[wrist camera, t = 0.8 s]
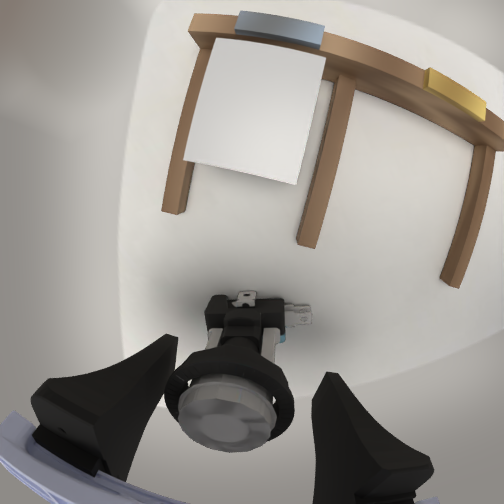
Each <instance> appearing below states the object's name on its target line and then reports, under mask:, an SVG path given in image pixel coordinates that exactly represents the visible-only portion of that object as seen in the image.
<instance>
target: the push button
mask: <svg viewBox="0 0 504 504" xmlns="http://www.w3.org/2000/svg"><path fill="white" fill-rule="evenodd" d="M246 294H250V296H243V295H246ZM255 297H256V292H255V291H242V292H239V295H238V298H237V300H227V296H226V295H214V296H212V298H211V300H210V302H209V304H208V306H207V308H206V310H205V311H204V313H205V319H206V325H207V331H208V343H207V346H206V348H205V350H202V351H198V352H194V353H192V354H191V355H190V356H189V357H188V358H187V359H186V360H185V361H184V363H183V364H182V365H180V366H179V367H178V368H177V369H176V370H175V371H174V372H173V373H172V374H171V376H170V377H169V379H168V381H167V384H166V386H165V390H164V399H165V403H166V406H167V408H168V410H169V412H170V413H171V415H172V416H173V417H174V419H175V420H176V421H177V422H178V423H179V425H180V426H181V428H182V430H183V431H184V432H185V433H186V434H187V435H188V436H189V438H191V439H192V440H193V441H195V442H197V443H199V444H201V445H203V446H205V447H207V448H210V449H214V450H218V451H224V452H229V453H230V452H247V451H251V450H253V449H255V448H258V447H260V446H262V445H263V444H265V443H266V442H267V441H270V440H272V439H274V438H276V437H278V436H279V435H281V434H282V433H283V432H284V431H285V430H286V429H287V428H288V427H289V426H290V424H291V422H292V420H293V417H294V411H295V410H294V398H293V395H292V392H291V391H290V389H289V387H288V382H287V380H286V377H285V375H284V373H283V371H282V369H281V368H280V367H279V366H277V365H275V364H274V361H275V344H278V343H283V342H284V341H285V327H294V325H302V324H311V323H312V313H311V307H310V306H294V304H292V305H284V299H255ZM301 309H304V310H306V313H300V310H301ZM301 317H307V320H306V321H301ZM191 379H192V381H191V384H190V386H188V381H189V380H191ZM273 396H274V398H275V399H276V402H275V403H274V404H273Z"/></svg>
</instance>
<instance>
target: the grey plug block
mask: <svg viewBox="0 0 504 504" xmlns="http://www.w3.org/2000/svg"><path fill="white" fill-rule="evenodd" d="M325 61H326V58H325V57H322V56H318V55H314V54H310V53H306V52H302V51H298V50H294V49H289V48H284V47H279V46H274V45H269V44H263V43H256V42H250V41H242V40H234V39H225V38H216V40H215V43H214V46H213V49H212V52H211V55H210V59H209V62H208V65H207V68H206V72H205V75H204V79H203V82H202V86H201V89H200V93H199V96H198V100H197V104H196V108H195V112H194V115H193V119H192V123H191V128H190V132H189V136H188V140H187V145H186V149H185V154H184V158H183V160H185V161H190V162H196V163H201V164H206V165H211V166H216V167H221V168H226V169H230V170H235V171H239V172H244V173H248V174H253V175H257V176H261V177H265V178H269V179H273V180H277V181H281V182H285V183H289V184H293V185H296V183H297V179H298V176H299V172H300V168H301V164H302V159H303V155H304V151H305V147H306V143H307V139H308V135H309V131H310V126H311V122H312V118H313V114H314V109H315V105H316V101H317V96H318V92H319V88H320V83H321V79H322V74H323V70H324V65H325Z"/></svg>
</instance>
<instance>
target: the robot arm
mask: <svg viewBox="0 0 504 504" xmlns="http://www.w3.org/2000/svg"><path fill="white" fill-rule="evenodd" d="M177 345H178V337H175V336H172V335H169V334H165V335H163V336H162V337H160V338H159V339H158V340H156V341H155V342H153V343H152V344H150V345H149V346H147V347H146V348H144V349H143V350H141V351H139V352H138V353H136V354H134V355H133V356H131V357H129V358H127V359H125V360H123V361H121V362H119V363H117V364H115V365H112V366H110V367H107V368H105V369H102V370H98V371H95V372H91V373H88V374H83V375H78V376H72V377H63V378H49V379H48V380H46V381H45V382H44V383H43V384H42V385H41V386H40V387H39V389H38V390H37V391H36V392H35V393H34V394H33V396H32V397H31V404H32V407H33V410H34V412H35V414H36V416H37V418H38V420H39V422H40V425H39V426H38V428H37V429H36V427H35V426H34V425H33V424H32V423H31V422H29V421H28V420H27V419H25V418H24V417H23V416H21V415H20V414H19V413H18V412H16V411H14V410H13V411H12V412H11V413H10V414H9V415H8V416H7V417H6V419H5V420H4V421H3V422H2V423H1V424H0V462H1V463H2V465H3V466H4V467H5V468H6V469H7V470H8V471H9V472H10V473H11V474H13V475H14V476H15V477H16V478H18V479H19V480H20V481H21V482H22V483H24V484H25V485H26V486H28V487H29V488H30V489H31V490H33V491H34V492H36V493H37V494H38V495H40V496H41V497H42V498H44V499H45V500H47V501H48V502H50V503H51V504H188V503H185V502H181V501H178V500H174V499H171V498H168V497H164V496H161V495H158V494H155V493H152V492H150V491H147V490H144V489H141V488H139V487H136V486H134V485H131V484H129V483H126V480H127V476H128V473H129V470H130V467H131V464H132V461H133V458H134V456H135V453H136V450H137V448H138V445H139V442H140V440H141V437H142V435H143V432H144V430H145V427H146V425H147V423H148V421H149V419H150V417H151V415H152V413H153V411H154V410H155V408H156V406H157V404H158V403H159V401H160V399H161V397H162V396H163V394H164V390H165V386H166V384H167V381H168V379H169V377H170V376H171V374H172V373H173V372H174V370H175V363H176V354H177ZM311 416H312V427H313V436H314V443H315V453H316V472H315V488H314V496H313V504H440V503H439V500H438V497H432V498H428V499H424V500H421V501H418V502H416V503H414V501H413V498H415V497H416V493H415V490H416V489H418V488H419V487H420V486H421V485H423V484H424V483H425V482H426V481H427V480H428V479H429V478H431V476H432V475H433V473H434V468H433V465H432V463H431V460H430V457H429V456H427V455H425V454H423V453H421V452H419V451H417V450H414V449H413V448H411V447H409V446H408V445H406V444H405V443H403V442H401V441H400V440H399V439H397V438H396V437H394V436H393V435H392V434H391V433H389V432H388V431H387V430H386V429H384V428H383V427H382V426H381V425H380V424H379V423H378V422H377V421H376V420H375V419H374V418H373V417H372V416H371V415H370V414H369V413H368V412H367V411H366V409H365V408H364V407H363V406H362V404H361V403H360V402H359V401H358V399H357V398H356V397H355V396H354V394H353V393H352V392H351V390H350V389H349V387H348V386H347V385H346V383H345V382H344V381H343V379H342V378H341V376H340V375H339V374H338V373H332V372H326V374H325V376H324V378H323V380H322V382H321V384H320V385H319V387H318V389H317V391H316V393H315V395H314V397H313V399H312V415H311Z"/></svg>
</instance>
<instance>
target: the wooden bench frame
mask: <svg viewBox="0 0 504 504" xmlns="http://www.w3.org/2000/svg"><path fill="white" fill-rule="evenodd" d="M324 28H325V26H323V25H319V24H315V23H311V22H307V21H302V20H298V19H293V18H288V17H283V16H277V15H271V14H264V13H257V12H249V11H240V13H239V16H234V15H221V14H194V16H193V19H192V21H191V24H190V26H189V29H188V32H189V33H190V35H191V36H192V38H193V39H194V40H195V42H196V43H197V45H198V46H199V48H200V51H199V54H198V57H197V60H196V64H195V67H194V70H193V73H192V77H191V80H190V84H189V87H188V91H187V94H186V98H185V102H184V105H183V109H182V113H181V117H180V121H179V125H178V129H177V134H176V138H175V142H174V147H173V151H172V156H171V161H170V166H169V171H168V176H167V181H166V187H165V192H164V198H163V204H162V210H161V211H162V212H167V213H171V214H175V215H178V214H180V213H182V212H184V211H185V209H186V204H187V198H188V193H189V188H190V183H191V178H192V173H193V169H194V164H195V162H190V161H185V160H183V158H184V154H185V149H186V145H187V140H188V136H189V132H190V128H191V123H192V119H193V115H194V112H195V108H196V104H197V100H198V96H199V93H200V89H201V86H202V82H203V79H204V75H205V72H206V68H207V65H208V62H209V59H210V55H211V52H212V49H213V46H214V43H215V40H216V38H225V39H234V40H242V41H250V42H256V43H263V44H269V45H274V46H279V47H284V48H289V49H294V50H298V51H302V52H306V53H310V54H314V55H318V56H322V57H325V58H326V61H325V65H324V70H323V74H322V79H325V80H328V81H331V82H335V83H334V87H333V92H332V97H331V101H330V106H329V110H328V115H327V119H326V123H325V128H324V132H323V136H322V140H321V145H320V149H319V153H318V157H317V161H316V165H315V169H314V173H313V177H312V181H311V185H310V189H309V193H308V196H307V200H306V204H305V208H304V212H303V215H302V219H301V223H300V226H299V230H298V234H297V237H296V240H297V243H298V245H301V246H305V247H309V248H313V249H315V247H316V244H317V241H318V237H319V234H320V230H321V227H322V223H323V220H324V216H325V213H326V209H327V205H328V202H329V198H330V194H331V190H332V187H333V183H334V179H335V175H336V171H337V167H338V163H339V159H340V155H341V151H342V146H343V142H344V138H345V133H346V129H347V124H348V120H349V115H350V110H351V106H352V101H353V96H354V91H355V89H356V90H359V91H362V92H365V93H367V94H370V95H373V96H375V97H378V98H380V99H383V100H385V101H388V102H390V103H393V104H395V105H397V106H400V107H402V108H404V109H407V110H409V111H411V112H413V113H415V114H417V115H420V116H422V117H424V118H426V119H428V120H430V121H432V122H434V123H436V124H437V125H439V126H441V127H443V128H445V129H447V130H449V131H450V132H452V133H454V134H456V135H458V136H459V137H461V138H463V139H464V140H466V141H468V142H469V143H471V144H473V145H474V153H473V159H472V165H471V171H470V176H469V181H468V186H467V190H466V194H465V199H464V203H463V207H462V211H461V214H460V218H459V222H458V225H457V229H456V232H455V235H454V238H453V241H452V245H451V248H450V251H449V254H448V256H447V259H446V262H445V265H444V268H443V270H442V273H441V275H440V279H441V280H442V281H444V282H445V283H446V284H448V285H449V286H451V287H455V288H458V289H459V287H460V285H461V282H462V280H463V277H464V275H465V272H466V269H467V267H468V264H469V261H470V258H471V255H472V252H473V249H474V246H475V243H476V240H477V236H478V233H479V230H480V226H481V222H482V219H483V215H484V211H485V207H486V203H487V198H488V194H489V189H490V184H491V178H492V173H493V167H494V160H495V153H496V151H504V121H503V120H502V119H500V118H499V117H498V116H497V115H495V114H494V113H493V112H491V111H490V110H488V109H487V108H486V102H485V101H484V100H482V99H481V98H480V97H478V96H477V95H475V94H474V93H472V92H471V91H469V90H468V89H466V88H465V87H463V86H461V85H460V84H458V83H457V82H455V81H453V80H452V79H450V78H448V77H447V76H445V75H443V74H441V73H440V72H438V71H436V70H434V69H432V68H428V69H426V70H423V69H421V68H419V67H417V66H415V65H413V64H411V63H409V62H406V61H404V60H402V59H400V58H398V57H395V56H393V55H391V54H388V53H386V52H383V51H381V50H378V49H376V48H373V47H370V46H368V45H365V44H362V43H359V42H356V41H353V40H350V39H347V38H344V37H341V36H338V35H334V34H331V33H327V32H324Z"/></svg>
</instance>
